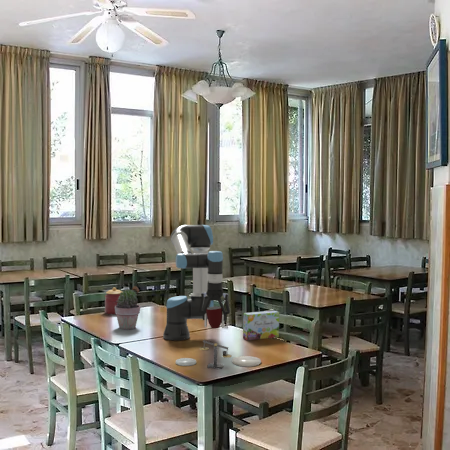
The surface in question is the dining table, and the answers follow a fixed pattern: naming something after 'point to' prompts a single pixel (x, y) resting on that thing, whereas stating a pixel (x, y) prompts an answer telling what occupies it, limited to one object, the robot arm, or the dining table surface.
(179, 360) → the saucer left
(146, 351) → the dining table surface
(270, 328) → the snack box
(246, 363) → the dish right
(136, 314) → the potted plant
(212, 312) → the mug
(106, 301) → the canister
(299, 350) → the dining table surface
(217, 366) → the balance
